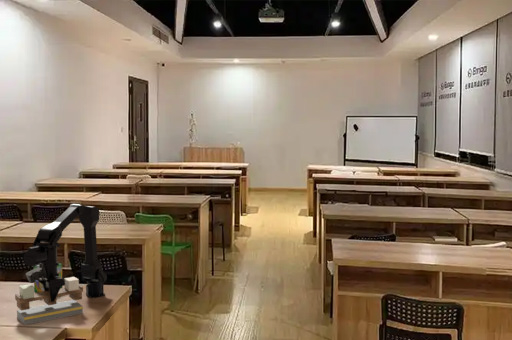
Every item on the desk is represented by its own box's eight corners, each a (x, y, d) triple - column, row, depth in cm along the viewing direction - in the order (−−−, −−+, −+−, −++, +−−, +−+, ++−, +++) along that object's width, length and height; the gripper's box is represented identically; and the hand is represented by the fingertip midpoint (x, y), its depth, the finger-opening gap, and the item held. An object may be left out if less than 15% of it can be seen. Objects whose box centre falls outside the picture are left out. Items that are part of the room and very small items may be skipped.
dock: (73, 306, 225) (73, 299, 225) (83, 313, 217) (82, 306, 217) (17, 317, 212) (16, 310, 212) (24, 325, 204) (24, 317, 204)
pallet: (77, 295, 224) (77, 283, 224) (83, 298, 219) (82, 287, 219) (15, 306, 210) (15, 294, 209) (19, 310, 205) (19, 298, 204)
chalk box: (52, 293, 243) (51, 260, 242) (33, 292, 245) (32, 259, 244) (63, 287, 252) (62, 255, 251) (45, 286, 254) (44, 254, 253)
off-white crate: (74, 286, 223) (74, 276, 222) (78, 289, 219) (78, 279, 218) (64, 288, 220) (64, 278, 220) (68, 291, 216) (68, 281, 216)
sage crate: (30, 294, 212) (30, 283, 212) (34, 297, 208) (34, 286, 208) (19, 295, 210) (19, 285, 209) (23, 299, 206) (23, 288, 205)
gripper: (20, 258, 216) (21, 297, 217) (34, 268, 201) (35, 310, 202) (49, 254, 222) (50, 292, 224) (65, 263, 208) (66, 304, 209)
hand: (50, 299), depth 214 cm, fingers closed on pallet, 6 cm apart
